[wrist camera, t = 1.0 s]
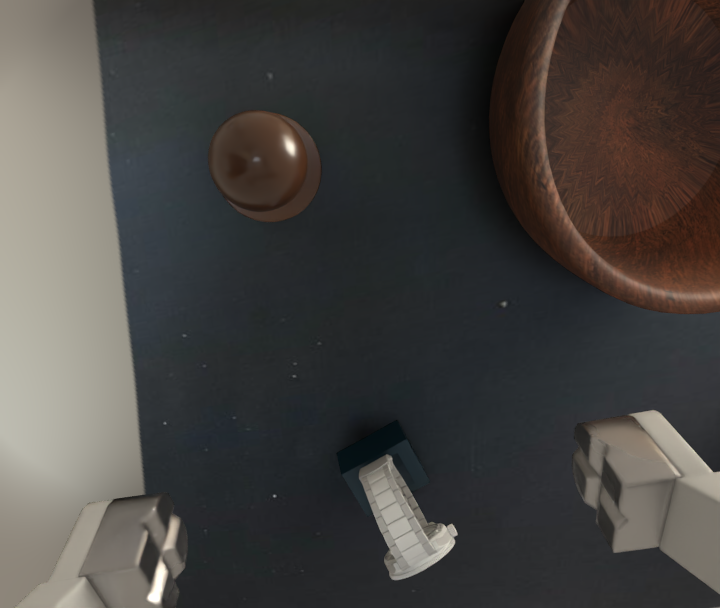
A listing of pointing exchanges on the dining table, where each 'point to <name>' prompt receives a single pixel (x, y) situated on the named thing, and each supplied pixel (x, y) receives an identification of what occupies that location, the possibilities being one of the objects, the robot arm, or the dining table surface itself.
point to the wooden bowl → (616, 144)
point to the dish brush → (264, 165)
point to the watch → (395, 499)
